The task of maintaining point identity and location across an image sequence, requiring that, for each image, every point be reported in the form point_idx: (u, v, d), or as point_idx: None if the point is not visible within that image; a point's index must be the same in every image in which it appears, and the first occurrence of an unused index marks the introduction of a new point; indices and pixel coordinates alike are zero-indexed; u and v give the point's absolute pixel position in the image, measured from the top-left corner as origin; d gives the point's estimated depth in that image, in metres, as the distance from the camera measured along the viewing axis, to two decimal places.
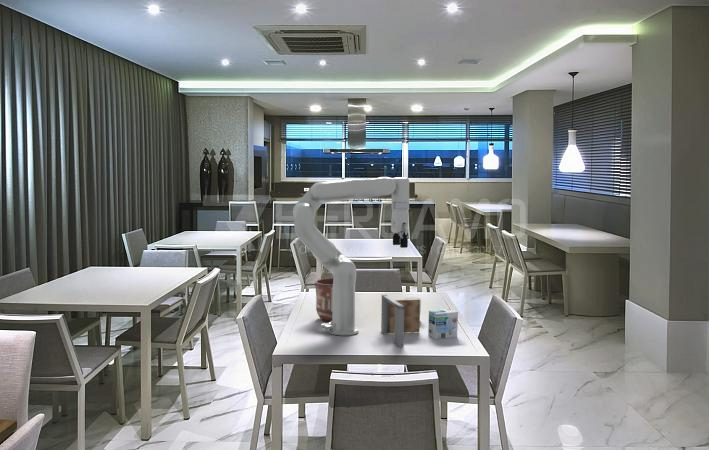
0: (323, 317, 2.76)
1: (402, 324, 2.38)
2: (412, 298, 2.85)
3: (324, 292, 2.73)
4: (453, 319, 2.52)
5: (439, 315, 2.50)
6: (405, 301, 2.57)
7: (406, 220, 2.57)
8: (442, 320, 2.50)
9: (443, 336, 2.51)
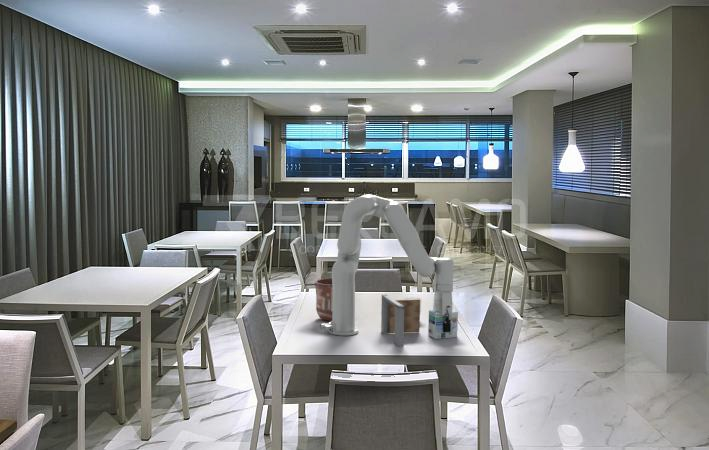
0: (323, 317, 2.76)
1: (402, 324, 2.38)
2: (412, 298, 2.85)
3: (324, 292, 2.73)
4: (453, 319, 2.52)
5: (439, 315, 2.50)
6: (405, 301, 2.57)
7: (450, 303, 2.49)
8: (442, 320, 2.50)
9: (443, 336, 2.51)
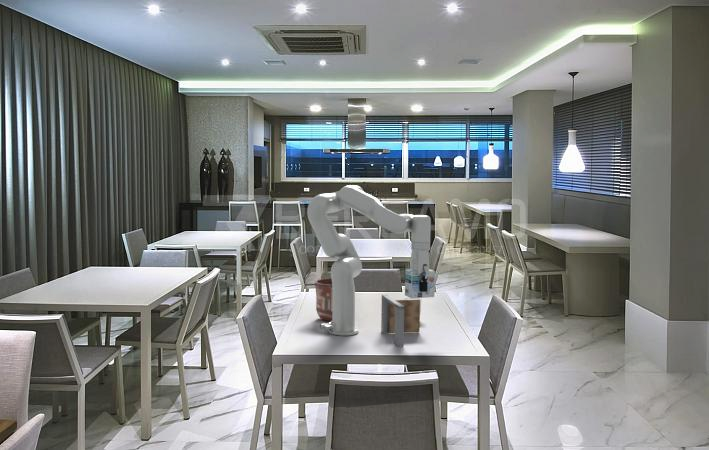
0: (323, 317, 2.76)
1: (402, 324, 2.38)
2: (412, 298, 2.85)
3: (324, 292, 2.73)
4: (431, 279, 2.44)
5: (415, 274, 2.41)
6: (405, 301, 2.57)
7: (427, 261, 2.41)
8: (418, 278, 2.42)
9: (420, 295, 2.43)
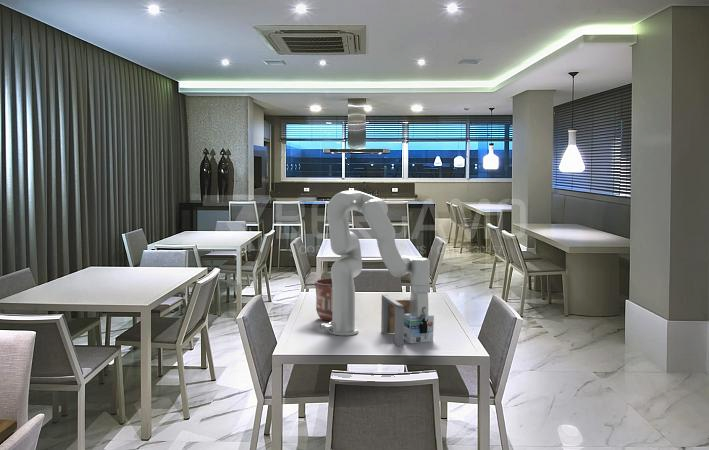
0: (323, 317, 2.76)
1: (402, 324, 2.38)
2: None
3: (324, 292, 2.73)
4: (429, 323, 2.46)
5: (414, 319, 2.43)
6: (405, 301, 2.57)
7: (426, 304, 2.42)
8: (417, 323, 2.44)
9: (418, 340, 2.44)
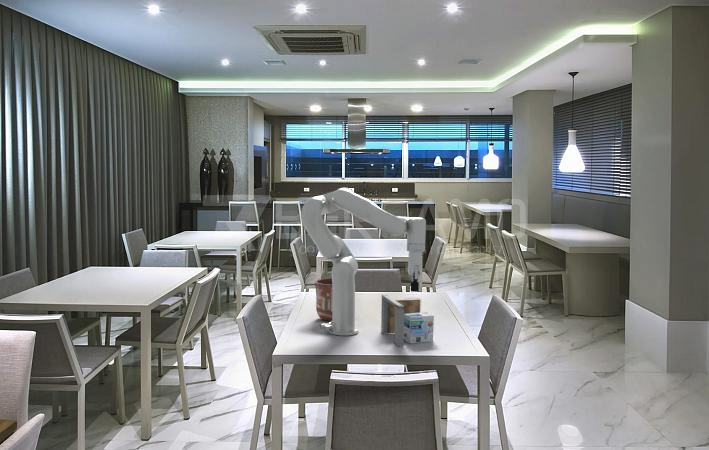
0: (323, 317, 2.76)
1: (402, 324, 2.38)
2: (412, 298, 2.85)
3: (324, 292, 2.73)
4: (429, 323, 2.46)
5: (414, 319, 2.43)
6: (405, 301, 2.57)
7: (419, 262, 2.48)
8: (417, 323, 2.44)
9: (418, 340, 2.44)
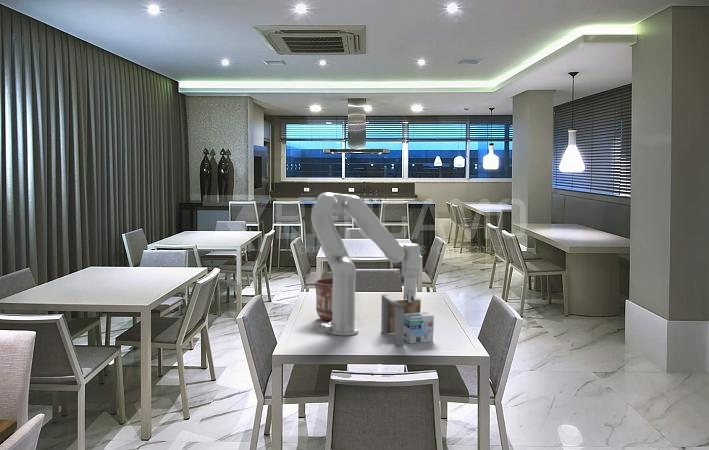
0: (323, 317, 2.76)
1: (402, 324, 2.38)
2: None
3: (324, 292, 2.73)
4: (429, 323, 2.46)
5: (414, 319, 2.43)
6: (405, 301, 2.57)
7: (412, 287, 2.56)
8: (417, 323, 2.44)
9: (418, 340, 2.44)
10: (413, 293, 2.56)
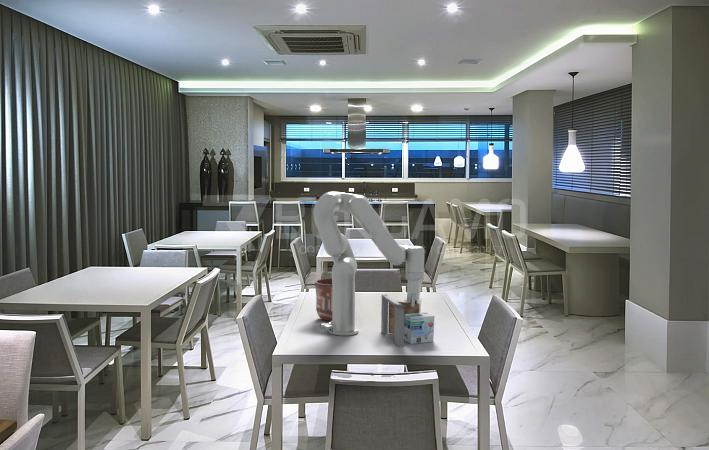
0: (323, 317, 2.76)
1: (402, 324, 2.38)
2: None
3: (324, 292, 2.73)
4: (430, 324, 2.45)
5: (414, 319, 2.42)
6: (404, 303, 2.53)
7: (416, 291, 2.50)
8: (417, 324, 2.43)
9: (419, 341, 2.43)
10: (417, 297, 2.50)
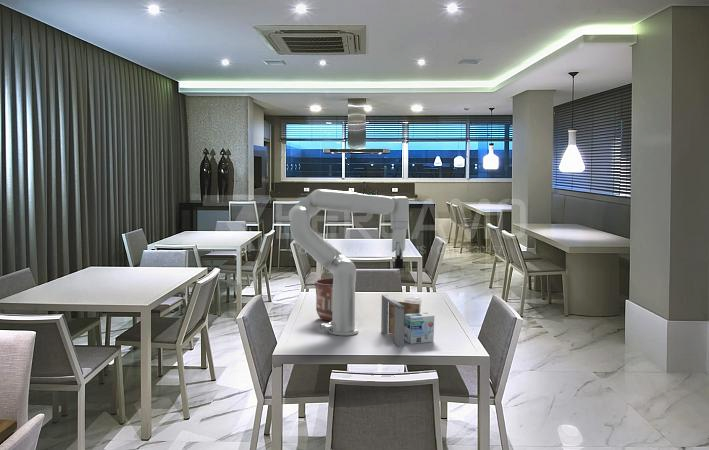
0: (323, 317, 2.76)
1: (402, 324, 2.38)
2: (412, 298, 2.85)
3: (324, 292, 2.73)
4: (430, 324, 2.45)
5: (414, 319, 2.42)
6: (404, 303, 2.53)
7: (400, 239, 2.56)
8: (417, 324, 2.43)
9: (419, 341, 2.44)
10: (401, 245, 2.56)
